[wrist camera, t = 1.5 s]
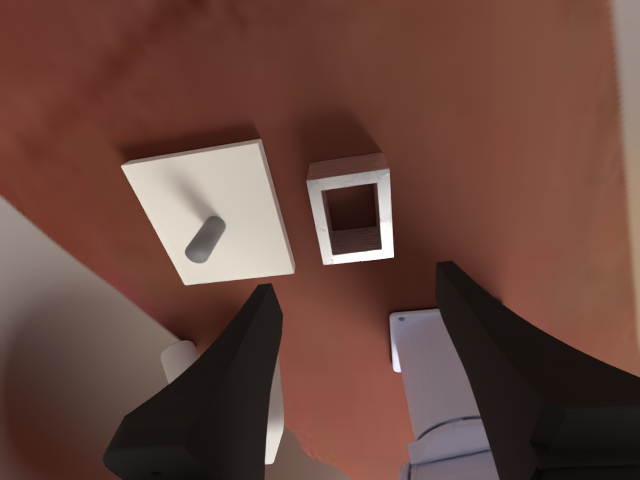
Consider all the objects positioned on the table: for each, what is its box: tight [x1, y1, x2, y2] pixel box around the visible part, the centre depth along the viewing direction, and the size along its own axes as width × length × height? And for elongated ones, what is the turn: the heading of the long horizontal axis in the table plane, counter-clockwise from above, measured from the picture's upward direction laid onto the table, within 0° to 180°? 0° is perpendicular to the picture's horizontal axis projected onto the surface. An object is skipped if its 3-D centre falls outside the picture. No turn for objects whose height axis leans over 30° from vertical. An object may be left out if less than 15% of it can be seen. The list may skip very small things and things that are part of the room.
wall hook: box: [161, 341, 284, 464], centre depth 27 cm, size 8×10×10 cm
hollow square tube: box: [306, 152, 394, 265], centre depth 20 cm, size 6×5×3 cm
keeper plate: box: [121, 139, 295, 285], centre depth 20 cm, size 9×10×4 cm
